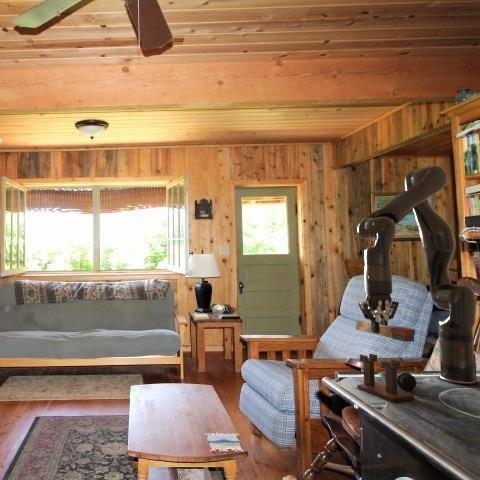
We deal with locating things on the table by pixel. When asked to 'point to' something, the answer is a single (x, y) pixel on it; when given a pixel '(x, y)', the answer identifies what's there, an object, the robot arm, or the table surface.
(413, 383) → the microphone
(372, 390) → the rack
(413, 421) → the table surface
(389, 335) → the brush
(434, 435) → the table surface
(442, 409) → the table surface
